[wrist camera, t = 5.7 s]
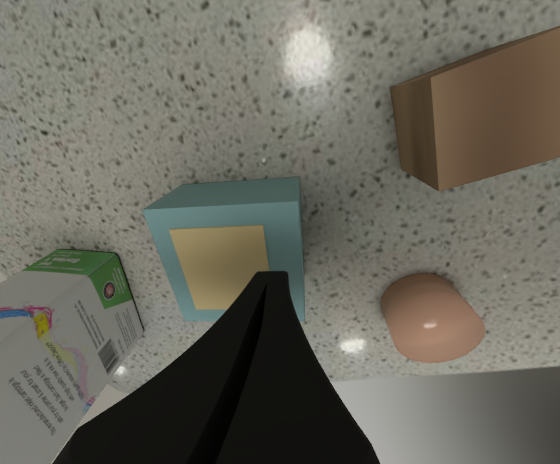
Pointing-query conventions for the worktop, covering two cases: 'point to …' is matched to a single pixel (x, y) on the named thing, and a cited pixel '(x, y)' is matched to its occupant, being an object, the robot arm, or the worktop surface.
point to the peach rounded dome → (430, 319)
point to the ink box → (59, 348)
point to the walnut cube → (482, 113)
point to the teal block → (228, 241)
